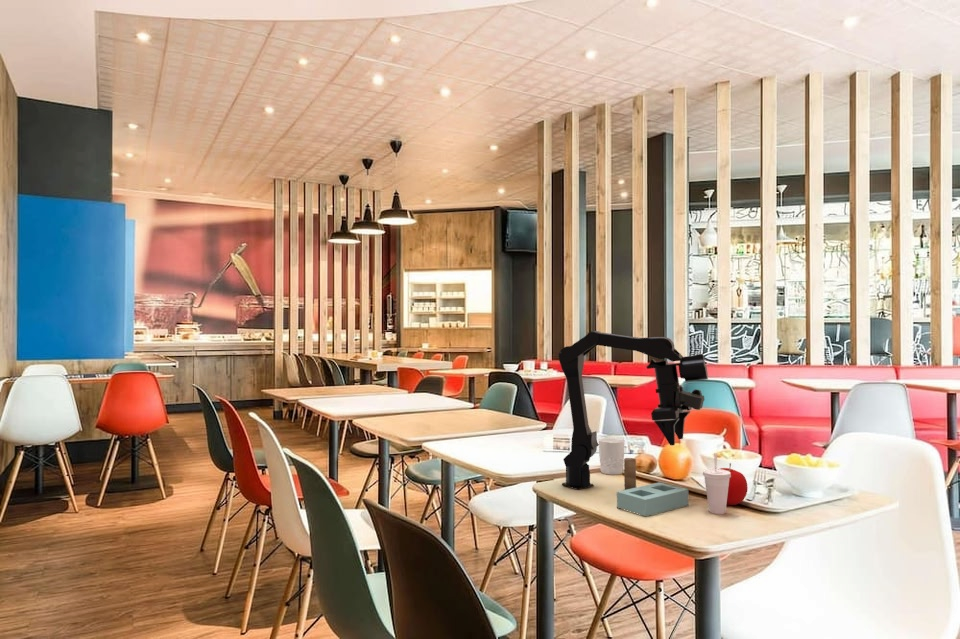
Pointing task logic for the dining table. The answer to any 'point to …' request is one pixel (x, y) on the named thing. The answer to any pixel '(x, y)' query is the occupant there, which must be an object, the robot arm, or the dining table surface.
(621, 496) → the hole block
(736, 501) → the fruit
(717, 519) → the dining table surface
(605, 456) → the white cup
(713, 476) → the smoothie
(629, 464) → the peg
